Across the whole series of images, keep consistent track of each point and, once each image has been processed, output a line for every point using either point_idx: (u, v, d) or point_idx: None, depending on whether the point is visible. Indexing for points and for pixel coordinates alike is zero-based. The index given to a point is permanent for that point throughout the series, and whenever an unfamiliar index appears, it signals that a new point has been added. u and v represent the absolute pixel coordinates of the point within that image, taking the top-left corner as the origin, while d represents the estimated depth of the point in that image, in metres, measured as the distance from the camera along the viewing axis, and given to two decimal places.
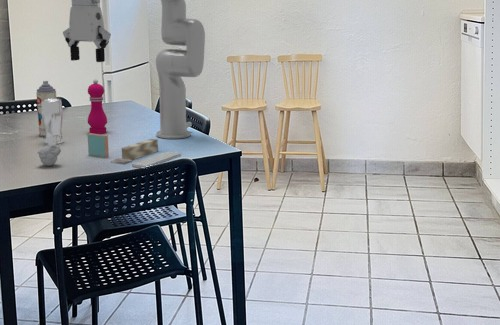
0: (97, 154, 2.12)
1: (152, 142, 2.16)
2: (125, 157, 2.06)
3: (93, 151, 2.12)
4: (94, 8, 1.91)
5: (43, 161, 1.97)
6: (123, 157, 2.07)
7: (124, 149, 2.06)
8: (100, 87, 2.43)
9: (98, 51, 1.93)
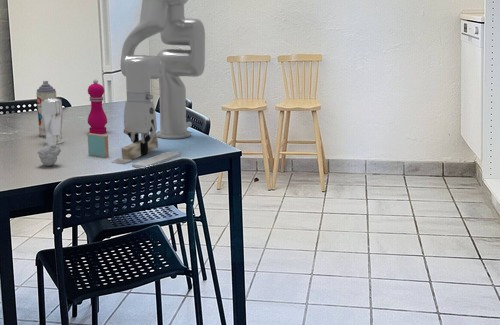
0: (97, 154, 2.12)
1: (152, 139, 2.16)
2: (125, 157, 2.06)
3: (93, 151, 2.12)
4: (148, 104, 2.07)
5: (43, 161, 1.97)
6: (123, 157, 2.07)
7: (124, 149, 2.06)
8: (100, 87, 2.43)
9: (142, 145, 2.11)
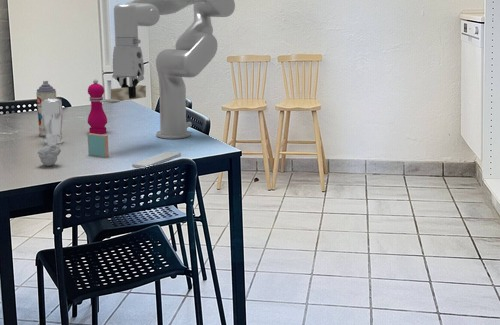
0: (97, 154, 2.12)
1: (140, 87, 2.26)
2: (114, 98, 2.16)
3: (93, 151, 2.12)
4: (135, 48, 2.16)
5: (43, 161, 1.97)
6: (112, 98, 2.16)
7: (113, 90, 2.15)
8: (100, 87, 2.43)
9: (130, 89, 2.20)
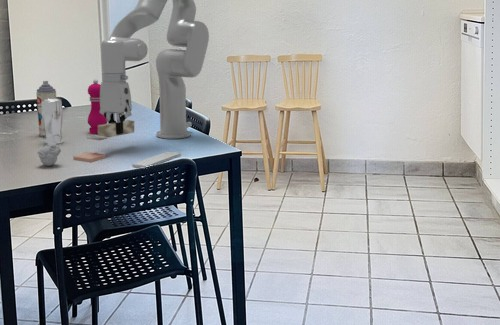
0: None
1: (128, 123, 2.23)
2: (101, 134, 2.12)
3: None
4: (123, 84, 2.13)
5: (43, 161, 1.97)
6: (99, 134, 2.13)
7: (100, 126, 2.12)
8: (100, 87, 2.43)
9: (118, 125, 2.17)
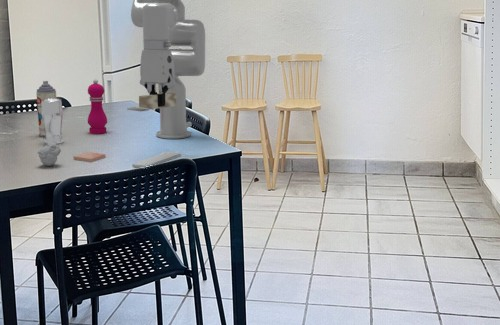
0: None
1: (170, 95, 2.07)
2: (142, 105, 1.97)
3: None
4: (166, 52, 1.97)
5: (43, 161, 1.97)
6: (140, 106, 1.97)
7: (142, 97, 1.96)
8: (100, 87, 2.43)
9: (159, 96, 2.01)
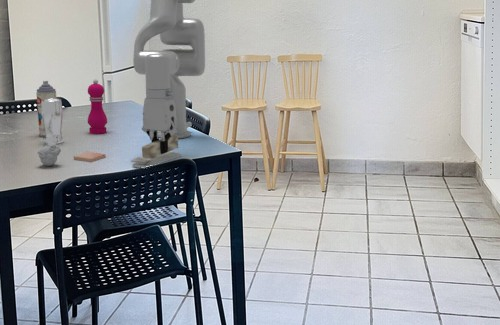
0: None
1: (172, 139, 2.10)
2: (146, 156, 2.01)
3: None
4: (168, 101, 2.00)
5: (43, 161, 1.97)
6: (143, 156, 2.01)
7: (144, 148, 2.00)
8: (100, 87, 2.43)
9: (162, 143, 2.05)
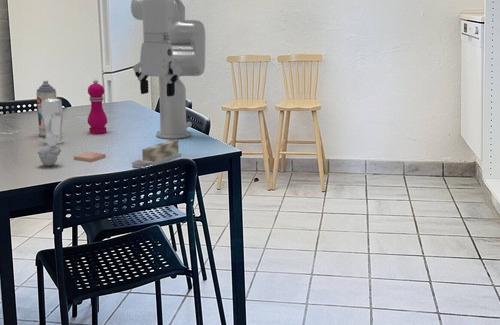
0: None
1: (173, 143, 2.11)
2: (146, 159, 2.01)
3: None
4: (166, 45, 1.97)
5: (43, 161, 1.97)
6: (144, 159, 2.01)
7: (145, 150, 2.00)
8: (100, 87, 2.43)
9: (169, 86, 2.00)
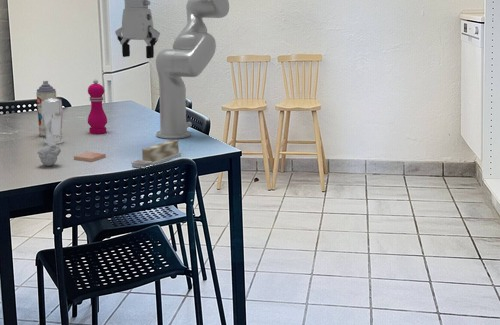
0: None
1: (173, 143, 2.11)
2: (146, 159, 2.01)
3: None
4: (145, 10, 2.13)
5: (43, 161, 1.97)
6: (144, 159, 2.01)
7: (145, 150, 2.00)
8: (100, 87, 2.43)
9: (148, 48, 2.15)
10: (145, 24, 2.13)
